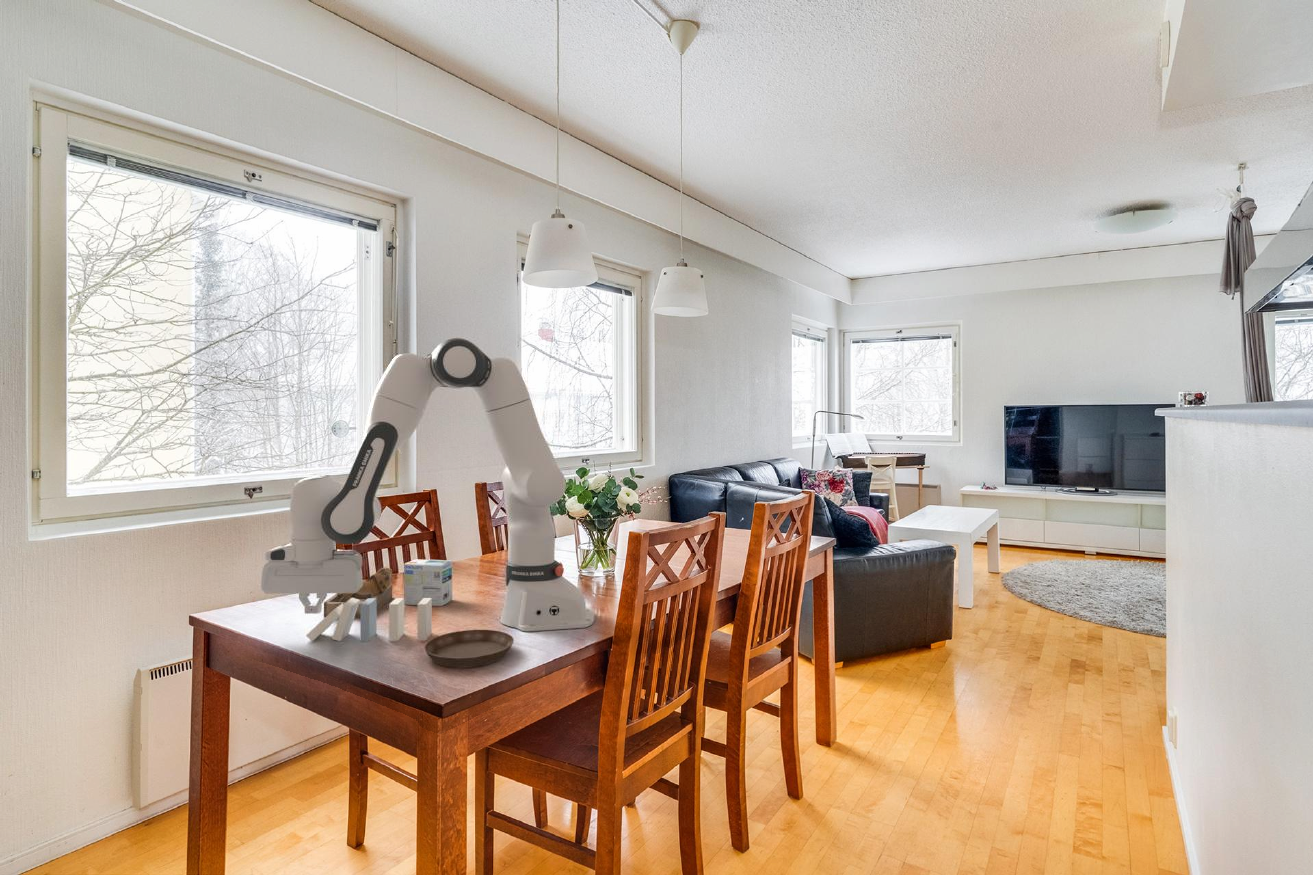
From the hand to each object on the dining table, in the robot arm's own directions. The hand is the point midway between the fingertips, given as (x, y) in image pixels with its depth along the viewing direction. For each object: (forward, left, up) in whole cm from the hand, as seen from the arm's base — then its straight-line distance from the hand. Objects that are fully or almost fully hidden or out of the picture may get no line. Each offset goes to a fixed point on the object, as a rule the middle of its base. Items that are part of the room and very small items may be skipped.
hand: (313, 612), depth 148 cm
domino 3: (-12, 0, -5) cm, 13 cm away
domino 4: (-18, 0, -5) cm, 19 cm away
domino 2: (-6, 0, -5) cm, 8 cm away
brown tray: (-2, -24, -5) cm, 25 cm away
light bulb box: (-18, -28, -6) cm, 34 cm away
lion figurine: (-3, -24, -5) cm, 25 cm away
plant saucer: (-36, +12, -6) cm, 38 cm away
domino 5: (-24, 0, -5) cm, 24 cm away
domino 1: (0, 0, -5) cm, 5 cm away
